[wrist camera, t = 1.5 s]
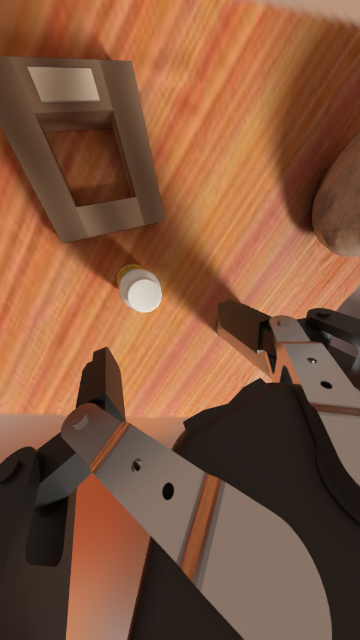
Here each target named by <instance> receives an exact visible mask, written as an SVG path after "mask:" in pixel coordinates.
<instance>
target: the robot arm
mask: <svg viewBox="0 0 360 640" xmlns="http://www.w3.org/2000/svg"><path fill="white" fill-rule="evenodd" d="M218 310H219V319H218V321H217V333H218V334H219V335H220V336H221V337H222V338H223V339H224V340H225V341H226V342H228V343H229V344H230V345H231V346H232V347H234V348H235V349H236V350H237V351H238V352H239V353H241V354H242V355H243V356H244V357H245V358H247V359H248V360H249V361H250V362H251V363H253V364H254V365H255V366H256V367H257V368H259V369H260V370H261V371H262V372H263V373H265V374H266V375H267V376H268V377H269V378H271V379H272V383H265V382H264V381H263V380H262V379H261V378H259V379H257V380H256V381H254V382H252V383H250V384H249V385H247V386H245V387H243V388H242V389H241V391H240V392H239V393H238V394H237V395H236V396H235V397H234V398H233V399H232V400H231V401H230V402H229V403H228V404H225V405H221V406H217V407H214V408H210V409H206V410H203V411H201V412H200V413H198V414H196V415H194V416H193V417H191V418H189V419H187V420H186V421H184V422H183V424H184V426H185V430H184V431H183V433H182V434H181V435H180V436H179V438H178V439H177V440H176V442H175V444H174V446H173V448H172V450H170V449H168V448H167V447H165V446H164V445H162V444H161V443H159V442H158V441H156V440H154V439H153V438H152V437H150V436H148V435H147V434H145V433H144V432H142V431H141V430H139V429H138V428H136V427H134V426H133V425H132V424H130V423H128V422H125V421H126V419H125V409H124V400H123V390H122V381H121V372H120V369H119V366H118V364H117V362H116V360H115V359H114V357H113V355H112V353H111V352H110V350H109V348H108V347H105V348H102V349H99V350H97V351H94V353H93V361H92V362H89V363H87V365H86V366H85V368H84V369H83V371H82V376H81V382H80V387H79V393H78V398H77V403H76V409H75V410H73V411H72V412H71V413H70V414H69V415H68V417H67V418H66V419H65V421H64V422H63V425H62V427H61V432H60V433H59V434H57V435H56V436H55V437H53V438H52V439H51V440H50V441H48V442H47V443H46V444H44V445H43V446H42V447H40V448H39V449H38V450H36V449H34V448H33V447H24V448H21V449H19V450H17V451H16V452H14V453H13V454H11V455H10V456H9V457H7V458H6V459H5V460H4V461H3V462H2V463H1V464H0V640H66V628H67V614H68V600H69V586H70V574H71V559H72V546H73V531H74V518H75V505H76V491H77V487H78V486H79V485H80V484H81V483H82V482H83V480H85V479H86V478H87V477H88V476H89V475H90V474H91V473H93V474H94V475H95V476H96V477H97V478H98V479H99V480H100V482H101V483H102V484H103V485H104V486H105V487H106V488H107V489H108V490H109V491H110V492H111V493H112V494H113V496H114V497H115V498H116V499H117V500H118V501H119V502H120V503H121V504H122V505H123V506H124V507H125V508H126V509H127V511H128V512H129V513H130V514H131V515H132V516H133V517H134V518H135V519H136V520H137V521H138V522H139V523H140V524H141V526H143V528H144V529H145V530H146V531H147V532H148V533H149V534H150V535H151V536H150V541H149V545H148V549H147V554H146V558H145V563H144V567H143V572H142V576H141V581H140V585H139V590H138V594H137V598H136V603H135V607H134V612H133V616H132V620H131V625H130V629H129V634H128V639H127V640H360V394H359V393H358V391H357V390H356V389H355V388H357V389H359V390H360V319H356V318H353V317H351V316H348V315H345V314H342V313H339V312H336V311H333V310H330V309H324V308H315V309H311V310H309V311H308V312H307V316H306V318H303V319H297V320H296V319H294V318H292V317H289V316H283V315H279V316H274V317H271V316H268V315H266V314H264V313H262V312H260V311H258V310H255V309H253V308H250V307H249V306H247V305H245V304H239V303H236V302H234V301H232V300H229V299H228V300H226V301H223V302H221V303H219V305H218ZM333 336H335V337H337V338H339V339H341V340H344V341H346V342H348V343H350V344H352V345H354V346H355V347H356V348H357V349H358V351H359V355H358V356H357V358H355V357H353V356H351V355H349V354H347V353H345V352H343V351H341V350H339V349H337V348H335V347H333V346H331V345H330V343H331V340H332V337H333ZM123 422H125V423H123Z"/></svg>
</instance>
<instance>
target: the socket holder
mask: <svg viewBox="0 0 360 640" xmlns="http://www.w3.org/2000/svg"><path fill="white" fill-rule="evenodd" d="M0 127H1V129H2V131H3V132H4V134H5V136H6V138H7V140H8V142H9V144H10V146H11V148H12V149H13V151H14V153H15V155H16V157H17V159H18V161H19V163H20V165H21V166H22V168H23V170H24V172H25V174H26V176H27V178H28V180H29V182H30V183H31V185H32V187H33V189H34V191H35V193H36V195H37V197H38V199H39V201H40V202H41V204H42V206H43V208H44V210H45V212H46V214H47V216H48V218H49V219H50V221H51V223H52V225H53V227H54V229H55V231H56V233H57V235H58V236H59V238H60V240H61V242H62V243H70V242H74V241H79V240H83V239H88V238H92V237H97V236H101V235H106V234H110V233H115V232H119V231H124V230H128V229H133V228H137V227H142V226H146V225H151V224H155V223H160V222H162V221H165V217H164V212H163V207H162V202H161V198H160V193H159V188H158V183H157V179H156V174H155V169H154V164H153V160H152V155H151V150H150V145H149V140H148V136H147V131H146V126H145V121H144V117H143V112H142V107H141V102H140V98H139V93H138V88H137V83H136V78H135V74H134V69H133V64H132V61H119V60H93V59H68V58H42V57H16V56H0ZM107 128H112V129H113V133H114V136H115V140H116V143H117V147H118V150H119V154H120V157H121V161H122V164H123V168H124V171H125V175H126V178H127V182H128V185H129V189H130V192H131V196H132V198H128V199H122V200H116V201H110V202H105V203H99V204H93V205H87V206H82V207H77V204H76V202H75V200H74V198H73V195H72V193H71V191H70V188H69V186H68V184H67V182H66V179H65V177H64V175H63V172H62V170H61V168H60V166H59V163H58V161H57V159H56V156H55V154H54V152H53V150H52V147H51V145H50V143H49V140H48V138H47V136H46V133H45V132H60V131H76V130H92V129H107Z"/></svg>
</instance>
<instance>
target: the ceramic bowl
mask: <svg viewBox="0 0 360 640" xmlns="http://www.w3.org/2000/svg"><path fill="white" fill-rule="evenodd" d="M312 223H313V228H314V230H315V233H316V236H317V238H318V240H319V241H320V242H321V243H322V244H323V245H324V246H325V247H327V248H328V249H329V250H330V251H332V252H333V253H335V254H337V255H341V256H346V257H360V132H359V133H358V134H357V135H356V136H355V137H354V138H353V139H352V140H351V141H350V142H349V144H348V145H347V146H346V147H345V149H344V150H343V151H342V152H341V153H340V155H339V156H338V157H337V159H336V160H335V162H334V163H333V164H332V166H331V167H330V168H329V170H328V171H327V173H326V174H325V176H324V178H323V180H322V182H321V184H320V185H319V188H318V191H317V193H316V196H315V199H314V203H313V208H312Z"/></svg>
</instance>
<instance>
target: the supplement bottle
mask: <svg viewBox="0 0 360 640" xmlns="http://www.w3.org/2000/svg"><path fill="white" fill-rule="evenodd" d="M117 285H118V289H119V294H120V297H121V299H122V300H123V302H124V303H125V304H126V305H127V306H128V307H130V308H132V309H134V310H136V311H138V312H144V313H145V312H150V311H152V310H154V309H156V308H157V307H158V305H159V304H160V302H161V299H162V292H161V287H160V283H159V281H158V279H157V277H156V276H155V275H154V274H153V273H151V272H150V271H148V270H147V269H145V268H144V267H142V266H140V265H137V264H128V265H125V266H124V267H122V268H121V269H120V271H119V272H118V275H117Z"/></svg>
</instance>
